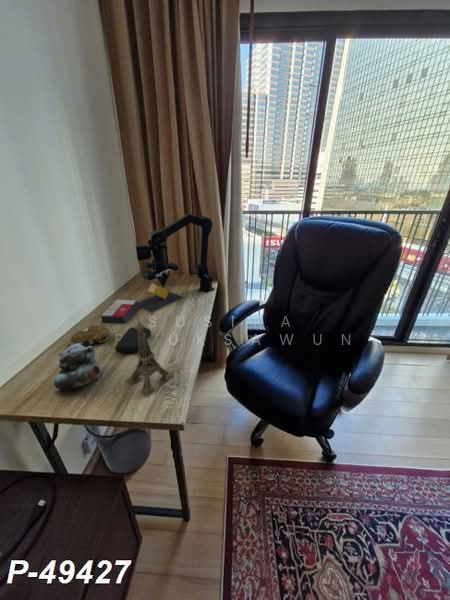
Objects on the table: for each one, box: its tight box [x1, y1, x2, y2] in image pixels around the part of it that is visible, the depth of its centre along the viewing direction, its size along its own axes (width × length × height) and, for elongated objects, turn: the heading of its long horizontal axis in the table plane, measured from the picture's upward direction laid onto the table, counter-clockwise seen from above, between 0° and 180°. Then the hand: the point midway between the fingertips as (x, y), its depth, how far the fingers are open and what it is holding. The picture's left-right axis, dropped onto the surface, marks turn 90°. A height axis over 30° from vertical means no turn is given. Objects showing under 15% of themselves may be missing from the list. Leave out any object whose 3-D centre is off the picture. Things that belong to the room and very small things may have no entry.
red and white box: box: [100, 299, 140, 324], centre depth 119 cm, size 11×4×15 cm
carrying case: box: [114, 326, 152, 354], centre depth 99 cm, size 11×3×15 cm
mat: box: [138, 291, 184, 313], centre depth 130 cm, size 20×14×1 cm
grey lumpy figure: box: [53, 340, 103, 393], centre depth 80 cm, size 15×12×14 cm
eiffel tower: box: [127, 315, 175, 397], centre depth 76 cm, size 11×11×25 cm
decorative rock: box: [70, 324, 111, 345], centre depth 102 cm, size 11×4×15 cm
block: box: [147, 282, 170, 299], centre depth 129 cm, size 4×4×9 cm
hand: (163, 286), depth 131 cm, fingers closed
